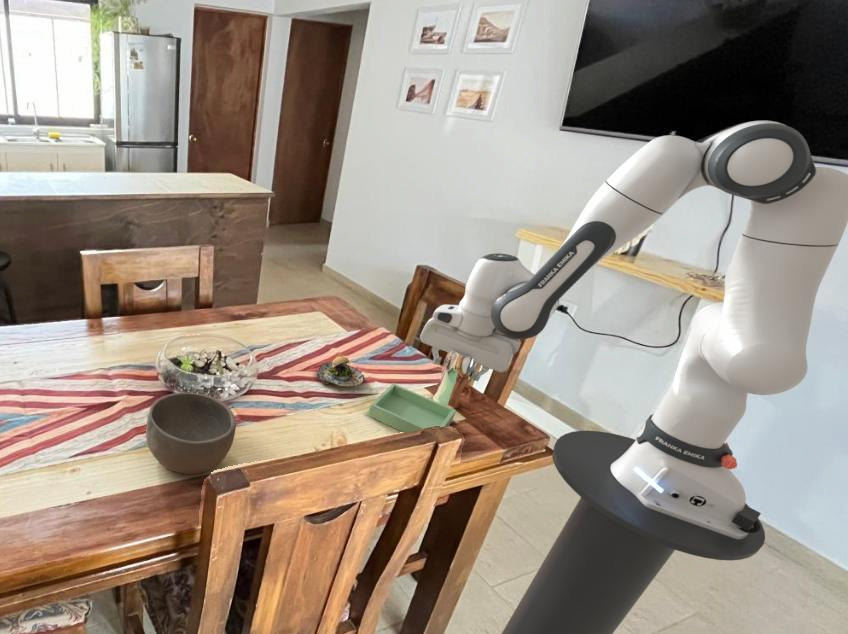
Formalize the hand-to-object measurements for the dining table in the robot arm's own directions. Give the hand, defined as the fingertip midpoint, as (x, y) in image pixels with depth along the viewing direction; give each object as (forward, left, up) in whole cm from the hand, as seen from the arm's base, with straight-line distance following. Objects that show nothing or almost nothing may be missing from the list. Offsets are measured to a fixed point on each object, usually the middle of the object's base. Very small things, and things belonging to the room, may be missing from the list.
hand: (455, 371), depth 126 cm
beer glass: (0, 0, -9) cm, 9 cm away
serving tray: (+4, +14, -9) cm, 17 cm away
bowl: (+32, +62, -9) cm, 70 cm away
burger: (+24, +11, -9) cm, 28 cm away
